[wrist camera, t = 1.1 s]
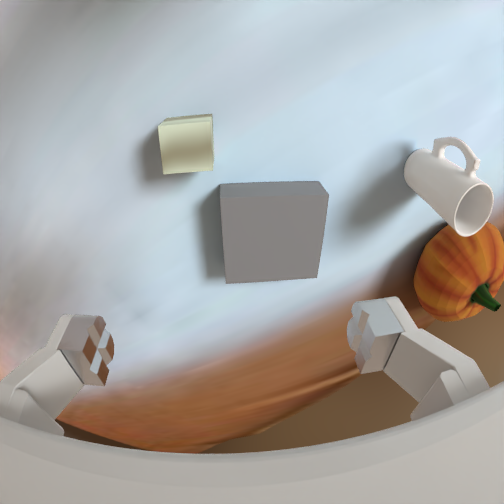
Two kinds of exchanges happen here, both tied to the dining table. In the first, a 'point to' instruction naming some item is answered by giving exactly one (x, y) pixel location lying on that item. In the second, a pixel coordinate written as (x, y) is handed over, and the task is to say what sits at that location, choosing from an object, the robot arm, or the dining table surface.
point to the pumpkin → (460, 273)
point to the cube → (187, 144)
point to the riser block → (272, 230)
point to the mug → (451, 186)
